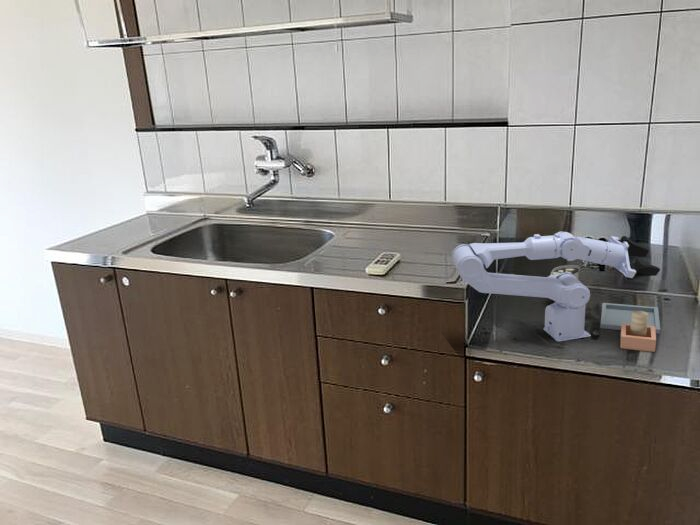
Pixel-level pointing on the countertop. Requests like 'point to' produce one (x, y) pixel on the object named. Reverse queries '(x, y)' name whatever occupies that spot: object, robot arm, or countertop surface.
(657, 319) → the slate tray
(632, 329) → the beech dowel
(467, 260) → the robot arm
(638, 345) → the terracotta square open box
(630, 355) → the countertop surface
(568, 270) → the food container
